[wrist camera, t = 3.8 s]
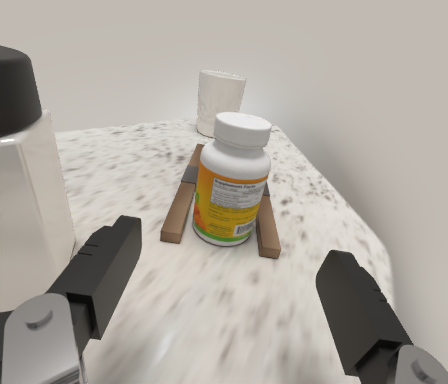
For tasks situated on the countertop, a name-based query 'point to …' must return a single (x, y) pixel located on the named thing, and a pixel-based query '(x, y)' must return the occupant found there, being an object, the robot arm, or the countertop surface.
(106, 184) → the countertop surface
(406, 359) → the robot arm
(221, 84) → the white cup
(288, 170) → the countertop surface
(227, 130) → the supplement bottle
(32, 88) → the jar
